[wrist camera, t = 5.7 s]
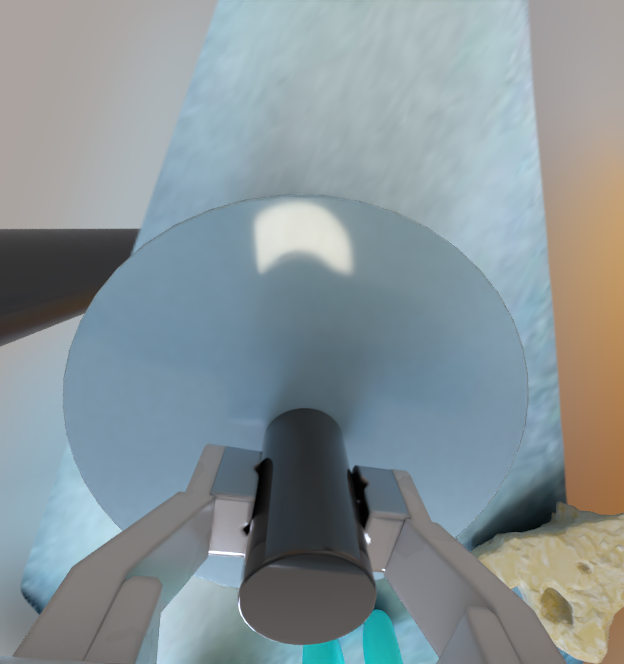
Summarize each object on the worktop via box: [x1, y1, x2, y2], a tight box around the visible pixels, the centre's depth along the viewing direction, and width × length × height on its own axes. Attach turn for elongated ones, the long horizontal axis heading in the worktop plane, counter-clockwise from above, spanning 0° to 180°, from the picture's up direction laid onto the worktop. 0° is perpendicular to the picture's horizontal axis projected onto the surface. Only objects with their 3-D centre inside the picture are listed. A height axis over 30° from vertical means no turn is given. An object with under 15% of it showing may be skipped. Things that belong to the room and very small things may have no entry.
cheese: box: [470, 501, 624, 663], centre depth 30 cm, size 15×7×15 cm
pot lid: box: [63, 195, 528, 645], centre depth 8 cm, size 15×15×6 cm
